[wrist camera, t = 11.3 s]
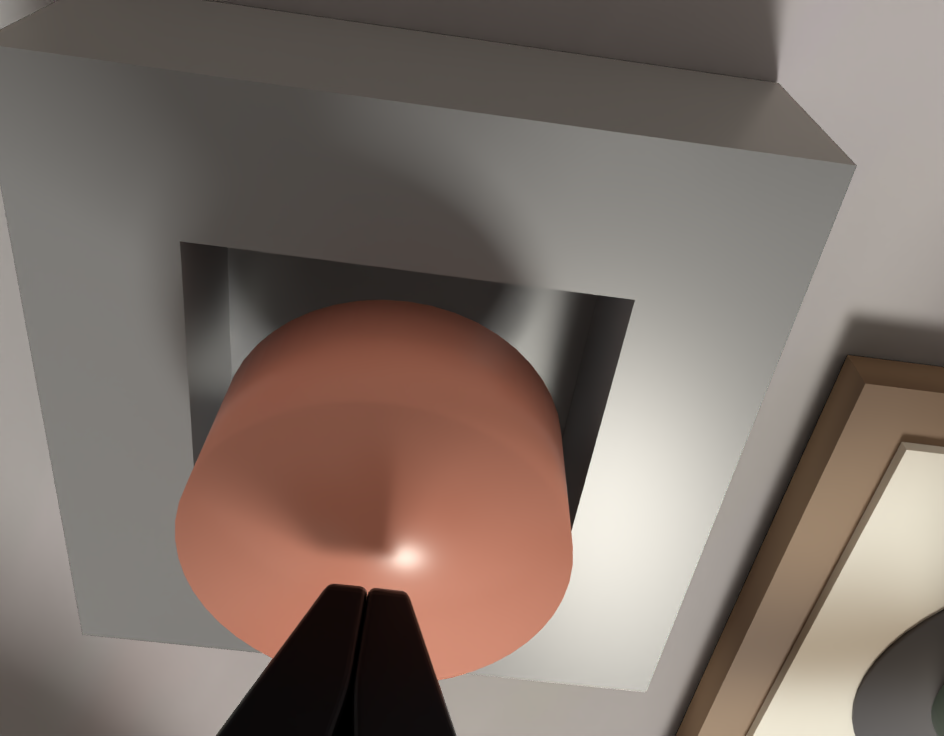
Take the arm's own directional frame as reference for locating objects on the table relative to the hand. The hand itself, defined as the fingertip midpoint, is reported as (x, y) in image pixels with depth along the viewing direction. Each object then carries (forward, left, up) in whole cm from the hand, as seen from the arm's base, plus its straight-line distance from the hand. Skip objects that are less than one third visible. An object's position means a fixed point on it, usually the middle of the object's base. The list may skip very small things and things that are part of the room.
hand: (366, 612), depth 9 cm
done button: (0, 0, -3) cm, 3 cm away
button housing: (0, 0, -6) cm, 6 cm away
